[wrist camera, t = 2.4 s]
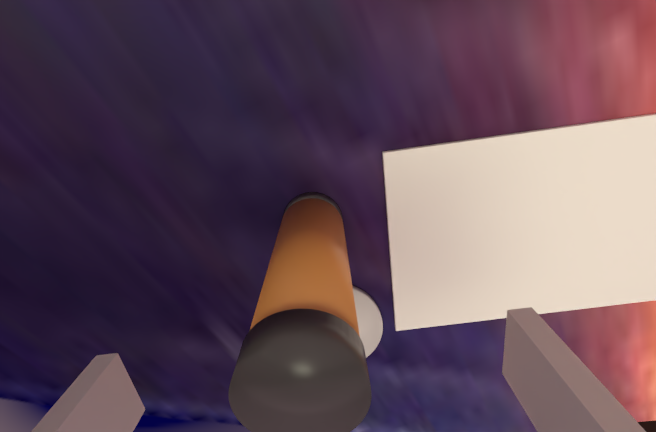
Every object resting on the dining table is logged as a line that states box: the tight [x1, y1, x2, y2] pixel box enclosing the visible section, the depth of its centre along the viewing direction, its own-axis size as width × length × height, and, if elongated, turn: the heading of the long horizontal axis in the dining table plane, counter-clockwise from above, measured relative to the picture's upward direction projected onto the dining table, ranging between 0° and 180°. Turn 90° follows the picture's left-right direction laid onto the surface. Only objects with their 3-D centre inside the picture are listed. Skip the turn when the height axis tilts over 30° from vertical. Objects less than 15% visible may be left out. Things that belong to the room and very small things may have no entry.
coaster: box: [352, 285, 383, 357], centre depth 25 cm, size 8×8×1 cm
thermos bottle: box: [229, 192, 371, 432], centre depth 16 cm, size 4×4×14 cm
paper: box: [382, 113, 656, 331], centre depth 22 cm, size 20×14×1 cm
